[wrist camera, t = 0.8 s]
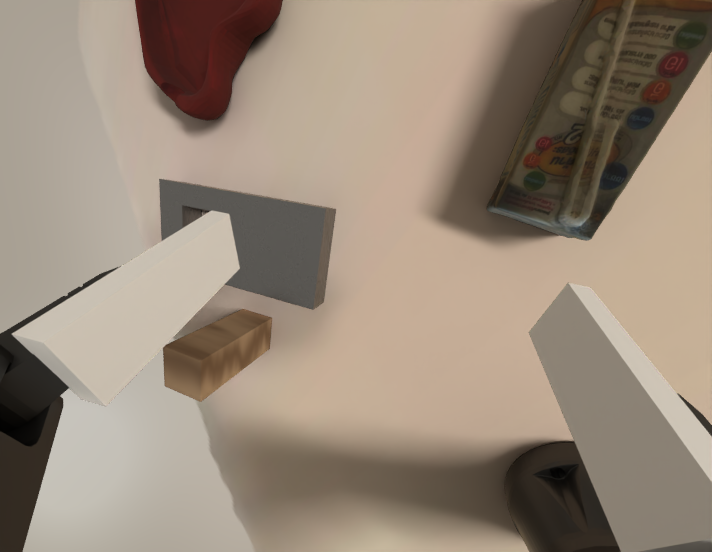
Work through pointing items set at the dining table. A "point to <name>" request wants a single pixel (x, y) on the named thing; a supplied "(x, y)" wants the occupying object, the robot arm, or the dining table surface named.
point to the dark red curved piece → (200, 47)
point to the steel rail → (261, 238)
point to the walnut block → (215, 353)
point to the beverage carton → (601, 110)
